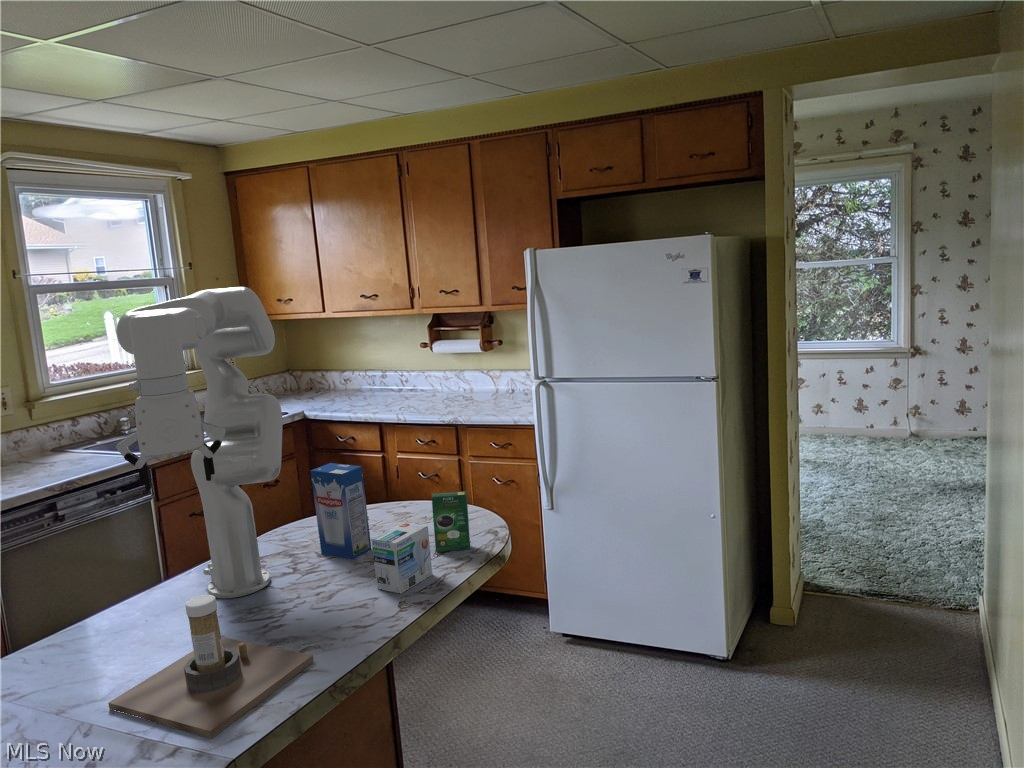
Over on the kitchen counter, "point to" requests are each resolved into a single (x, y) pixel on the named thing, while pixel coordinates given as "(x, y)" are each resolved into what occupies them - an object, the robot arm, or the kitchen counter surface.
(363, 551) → the milk carton
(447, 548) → the coffee box
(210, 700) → the collar board
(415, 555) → the light bulb box
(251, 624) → the kitchen counter surface
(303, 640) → the kitchen counter surface
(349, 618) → the kitchen counter surface
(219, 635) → the sprinkles bottle
